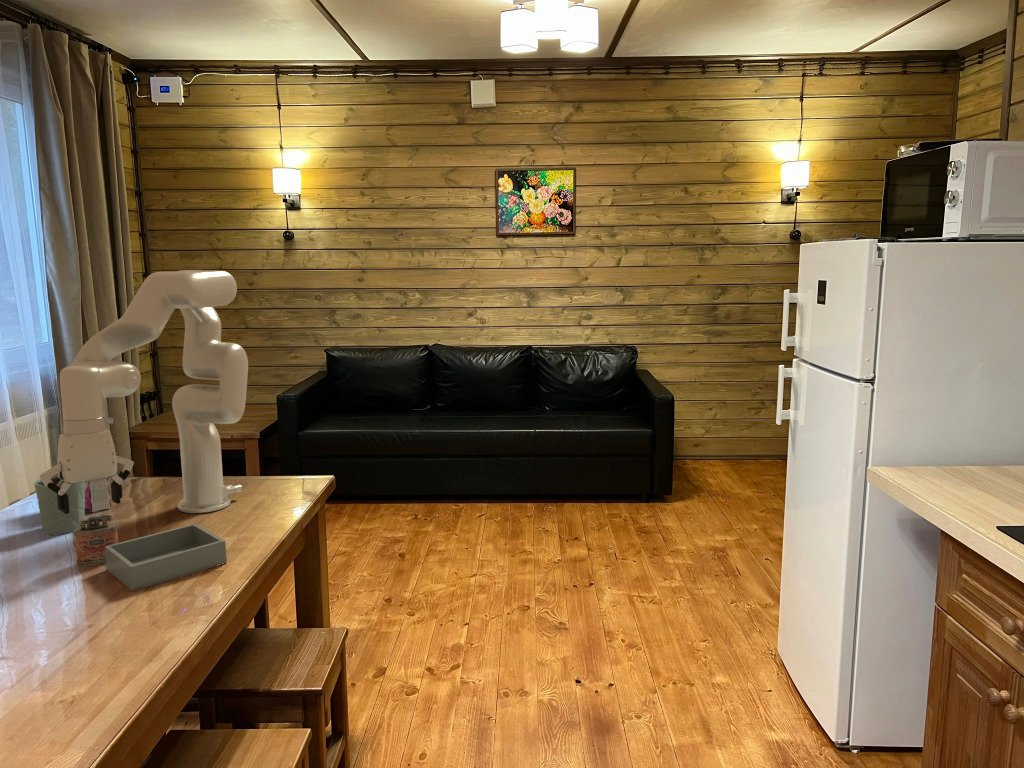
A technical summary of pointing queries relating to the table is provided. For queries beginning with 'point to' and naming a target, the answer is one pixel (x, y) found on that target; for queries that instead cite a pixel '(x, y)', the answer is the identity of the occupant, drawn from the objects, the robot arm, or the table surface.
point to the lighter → (94, 539)
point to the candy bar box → (97, 495)
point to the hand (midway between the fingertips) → (91, 507)
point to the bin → (164, 556)
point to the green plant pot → (51, 515)
